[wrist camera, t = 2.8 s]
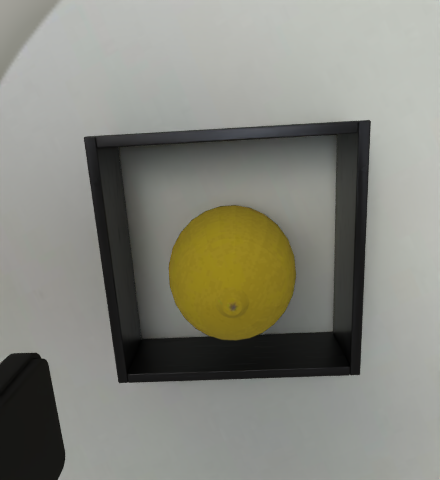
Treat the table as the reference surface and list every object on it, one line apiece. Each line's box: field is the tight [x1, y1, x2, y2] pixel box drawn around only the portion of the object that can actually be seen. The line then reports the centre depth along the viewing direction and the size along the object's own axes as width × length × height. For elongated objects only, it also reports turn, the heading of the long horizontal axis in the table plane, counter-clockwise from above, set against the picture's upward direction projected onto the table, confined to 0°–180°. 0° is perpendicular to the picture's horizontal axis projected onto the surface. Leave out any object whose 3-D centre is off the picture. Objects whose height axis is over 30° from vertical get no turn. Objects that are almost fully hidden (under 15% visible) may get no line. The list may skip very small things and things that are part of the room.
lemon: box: [169, 205, 296, 340], centre depth 18 cm, size 6×6×8 cm
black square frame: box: [84, 120, 371, 383], centre depth 20 cm, size 12×12×4 cm
